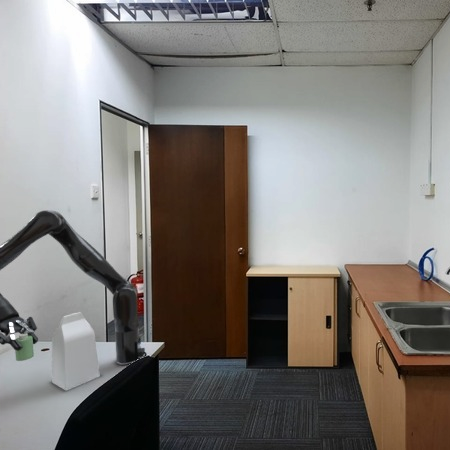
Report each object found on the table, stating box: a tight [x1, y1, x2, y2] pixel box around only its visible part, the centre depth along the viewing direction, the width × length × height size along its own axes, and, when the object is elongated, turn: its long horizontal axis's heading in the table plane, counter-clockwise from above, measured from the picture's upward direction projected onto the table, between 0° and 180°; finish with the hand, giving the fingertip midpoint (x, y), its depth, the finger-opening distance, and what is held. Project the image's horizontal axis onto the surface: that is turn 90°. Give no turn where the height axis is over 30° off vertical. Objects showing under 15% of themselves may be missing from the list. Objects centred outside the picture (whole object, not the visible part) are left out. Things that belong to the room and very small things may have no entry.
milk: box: [51, 311, 101, 392], centre depth 130 cm, size 12×12×26 cm
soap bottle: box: [14, 334, 35, 362], centre depth 121 cm, size 5×5×8 cm
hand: (28, 345), depth 121 cm, fingers closed on soap bottle, 5 cm apart
